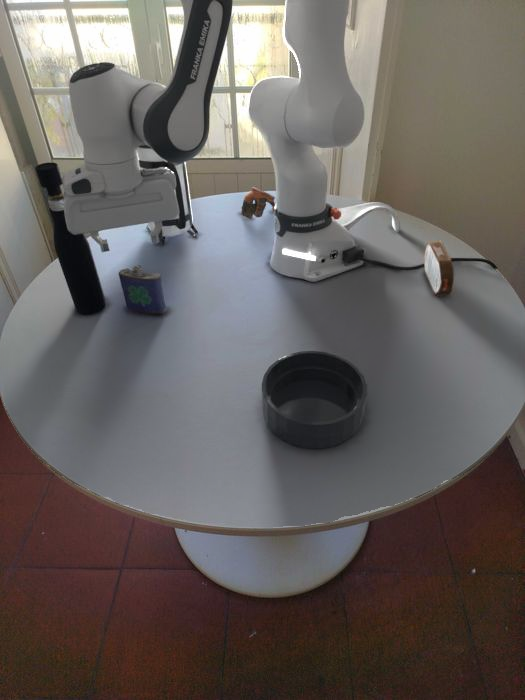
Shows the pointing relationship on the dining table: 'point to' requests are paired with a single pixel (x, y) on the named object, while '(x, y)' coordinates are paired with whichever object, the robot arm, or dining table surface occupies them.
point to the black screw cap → (313, 399)
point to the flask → (142, 291)
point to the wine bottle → (71, 248)
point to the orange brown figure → (256, 203)
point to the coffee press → (185, 218)
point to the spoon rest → (359, 211)
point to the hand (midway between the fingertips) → (130, 246)
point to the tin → (438, 268)
